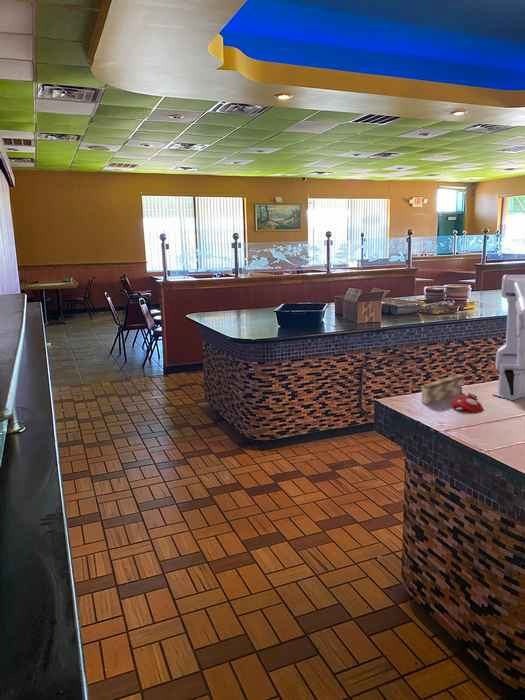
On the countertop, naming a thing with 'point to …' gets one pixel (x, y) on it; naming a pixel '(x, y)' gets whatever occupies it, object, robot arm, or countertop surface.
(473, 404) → the tracker holder
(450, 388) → the wall board
